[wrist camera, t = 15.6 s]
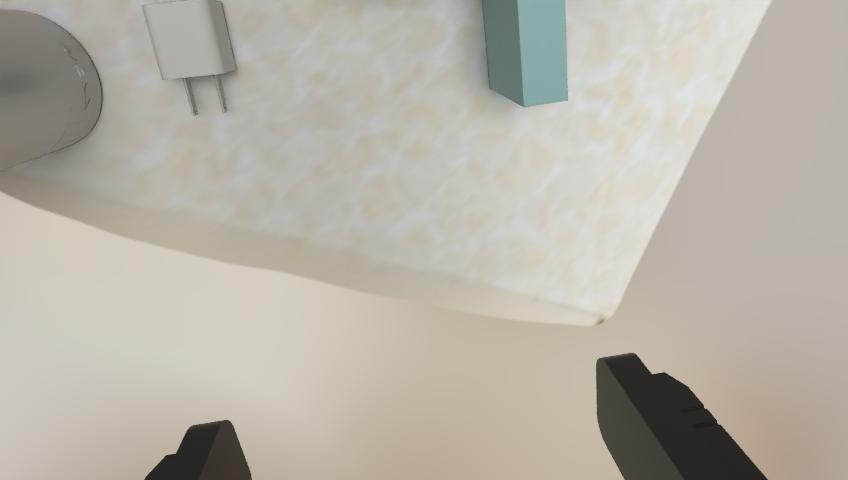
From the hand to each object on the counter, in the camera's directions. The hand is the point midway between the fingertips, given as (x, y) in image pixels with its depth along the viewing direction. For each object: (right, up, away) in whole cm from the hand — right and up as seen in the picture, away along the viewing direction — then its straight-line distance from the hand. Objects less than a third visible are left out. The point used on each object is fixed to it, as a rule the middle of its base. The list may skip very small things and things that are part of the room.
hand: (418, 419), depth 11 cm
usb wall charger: (-15, +17, +25) cm, 33 cm away
